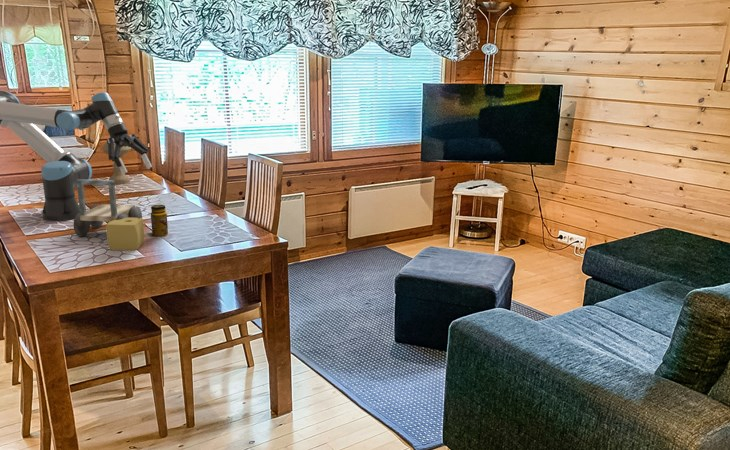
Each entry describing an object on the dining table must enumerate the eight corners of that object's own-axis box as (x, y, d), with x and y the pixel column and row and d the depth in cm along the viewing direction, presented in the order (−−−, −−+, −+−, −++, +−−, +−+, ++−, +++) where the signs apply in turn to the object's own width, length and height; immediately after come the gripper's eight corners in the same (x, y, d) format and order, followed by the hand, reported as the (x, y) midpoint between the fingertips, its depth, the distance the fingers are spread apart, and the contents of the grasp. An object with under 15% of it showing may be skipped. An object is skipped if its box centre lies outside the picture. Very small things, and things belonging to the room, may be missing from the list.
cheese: (117, 242, 219) (114, 216, 216) (146, 242, 220) (144, 217, 217) (107, 250, 209) (105, 224, 206) (138, 250, 210) (135, 224, 207)
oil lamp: (139, 182, 320) (133, 110, 309) (112, 186, 309) (105, 111, 298) (125, 178, 330) (119, 108, 319) (100, 182, 319) (92, 109, 308)
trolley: (75, 238, 221) (68, 180, 214) (100, 223, 241) (94, 170, 235) (121, 240, 221) (116, 182, 214) (142, 225, 241) (138, 171, 234)
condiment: (171, 236, 228) (169, 206, 225) (149, 239, 223) (146, 209, 220) (166, 231, 234) (164, 202, 230) (144, 234, 229) (142, 205, 226)
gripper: (95, 126, 238) (119, 171, 238) (142, 119, 259) (164, 162, 260) (86, 134, 241) (109, 179, 242) (133, 127, 263) (154, 169, 264)
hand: (137, 170), depth 251 cm, fingers open, 13 cm apart
